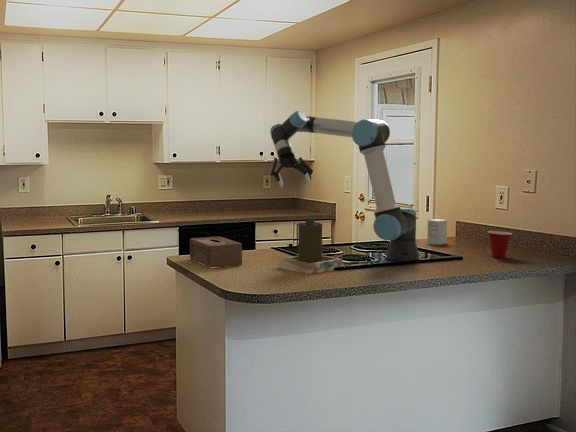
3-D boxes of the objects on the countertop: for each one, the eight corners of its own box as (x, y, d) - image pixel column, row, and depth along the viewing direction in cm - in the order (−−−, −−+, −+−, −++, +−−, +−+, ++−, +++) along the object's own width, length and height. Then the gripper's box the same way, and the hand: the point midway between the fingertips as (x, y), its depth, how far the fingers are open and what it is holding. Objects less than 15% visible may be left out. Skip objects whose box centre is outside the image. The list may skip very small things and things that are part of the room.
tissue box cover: (190, 260, 320) (189, 238, 319) (219, 257, 327) (219, 236, 325) (210, 269, 297) (210, 246, 296) (242, 266, 304) (241, 243, 303)
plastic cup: (516, 258, 322) (517, 232, 320) (497, 259, 318) (498, 233, 316) (500, 254, 332) (501, 229, 330) (482, 256, 327) (482, 230, 326)
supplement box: (435, 242, 371) (436, 218, 369) (447, 243, 365) (447, 219, 364) (426, 243, 366) (427, 219, 365) (438, 245, 360) (438, 221, 359)
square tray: (311, 262, 312) (311, 253, 312) (344, 268, 298) (344, 258, 297) (277, 267, 299) (277, 258, 298) (310, 274, 284) (310, 264, 284)
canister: (324, 262, 302) (324, 216, 300) (319, 267, 292) (319, 219, 290) (300, 261, 304) (300, 216, 302) (294, 266, 294) (294, 218, 292)
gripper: (307, 156, 335) (319, 190, 323) (257, 157, 327) (268, 191, 314) (311, 145, 330) (324, 179, 317) (261, 146, 321) (272, 180, 309)
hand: (296, 185), depth 316 cm, fingers open, 13 cm apart
